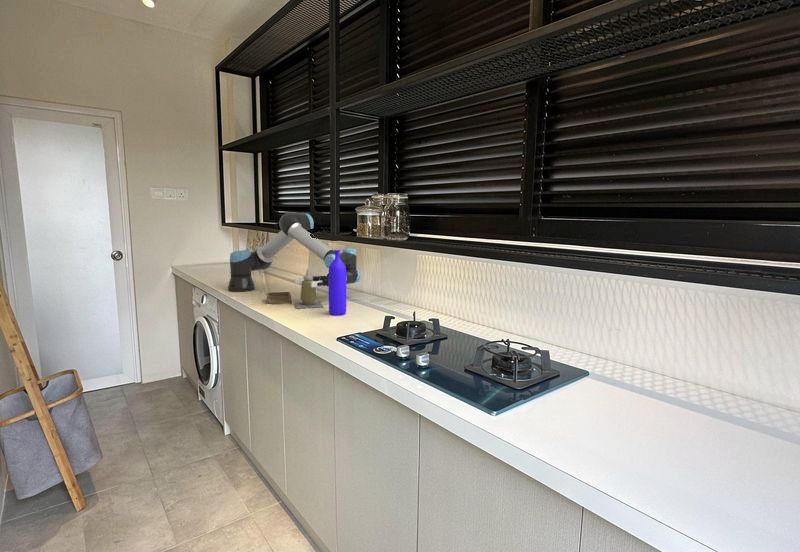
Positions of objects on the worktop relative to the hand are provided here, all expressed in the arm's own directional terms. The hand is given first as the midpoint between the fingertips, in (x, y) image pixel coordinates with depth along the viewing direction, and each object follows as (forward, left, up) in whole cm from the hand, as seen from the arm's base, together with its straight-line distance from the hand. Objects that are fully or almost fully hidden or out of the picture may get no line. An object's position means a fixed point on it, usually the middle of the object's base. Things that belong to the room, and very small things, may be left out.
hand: (302, 283), depth 206 cm
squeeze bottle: (-2, +3, -12) cm, 12 cm away
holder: (-15, -11, -12) cm, 22 cm away
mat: (-2, +3, -12) cm, 12 cm away
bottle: (+19, +14, -12) cm, 27 cm away
